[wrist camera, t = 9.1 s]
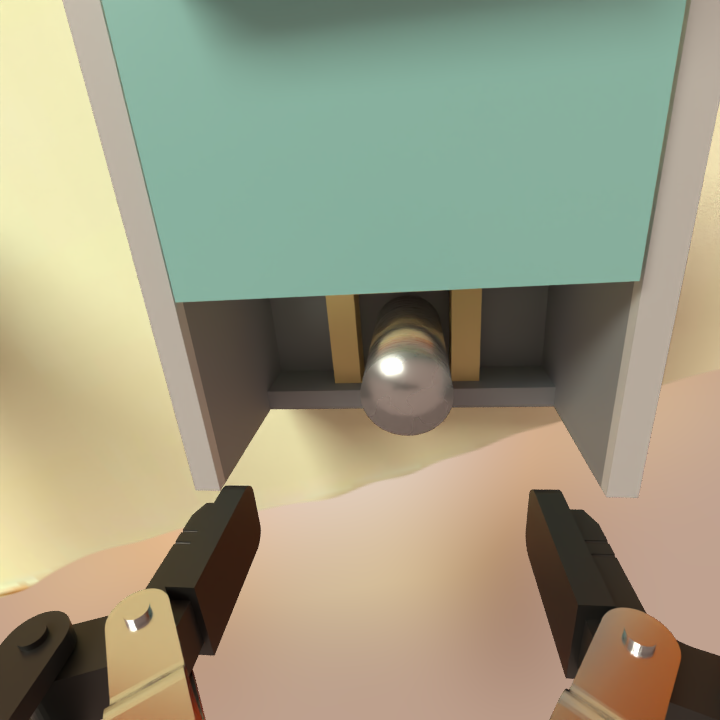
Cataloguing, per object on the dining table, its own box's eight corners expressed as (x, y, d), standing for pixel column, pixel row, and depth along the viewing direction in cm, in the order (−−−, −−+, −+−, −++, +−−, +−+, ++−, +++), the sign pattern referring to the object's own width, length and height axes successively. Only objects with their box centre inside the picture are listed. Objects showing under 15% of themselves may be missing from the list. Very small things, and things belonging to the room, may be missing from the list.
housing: (272, 385, 31) (197, 495, 21) (212, 40, 23) (43, -68, 13) (555, 380, 29) (637, 503, 18) (595, -12, 21) (781, -201, 10)
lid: (185, 296, 17) (136, 323, 14) (100, -70, 13) (3, -143, 10) (628, 275, 15) (682, 302, 12) (699, -176, 11) (809, -311, 8)
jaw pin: (374, 295, 27) (358, 352, 18) (442, 294, 26) (455, 353, 18) (376, 357, 28) (362, 434, 20) (440, 357, 28) (451, 436, 20)
